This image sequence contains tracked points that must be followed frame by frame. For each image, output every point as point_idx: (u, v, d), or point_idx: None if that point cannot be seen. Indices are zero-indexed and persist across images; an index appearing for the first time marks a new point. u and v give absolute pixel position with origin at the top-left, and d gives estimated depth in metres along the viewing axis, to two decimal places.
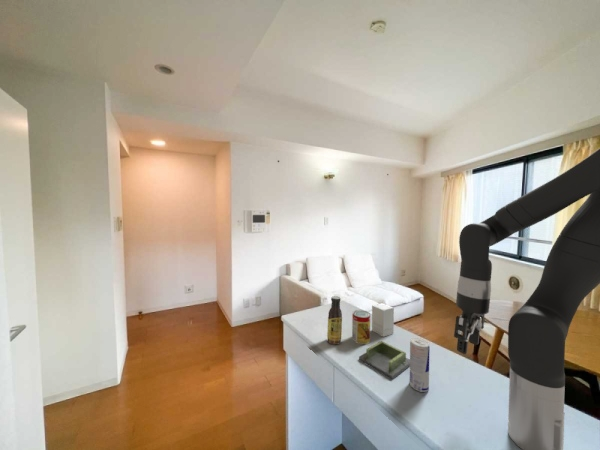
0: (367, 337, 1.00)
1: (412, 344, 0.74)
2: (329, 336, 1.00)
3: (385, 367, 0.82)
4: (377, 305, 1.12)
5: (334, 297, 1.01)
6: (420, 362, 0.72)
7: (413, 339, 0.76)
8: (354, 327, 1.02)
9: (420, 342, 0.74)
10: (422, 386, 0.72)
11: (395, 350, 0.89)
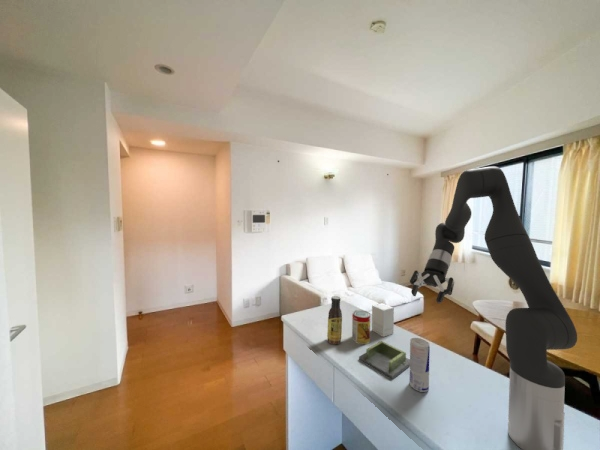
0: (367, 337, 1.00)
1: (412, 344, 0.74)
2: (329, 336, 1.00)
3: (385, 367, 0.82)
4: (377, 305, 1.12)
5: (334, 297, 1.01)
6: (420, 362, 0.72)
7: (413, 339, 0.76)
8: (354, 327, 1.02)
9: (420, 342, 0.74)
10: (422, 386, 0.72)
11: (395, 350, 0.89)
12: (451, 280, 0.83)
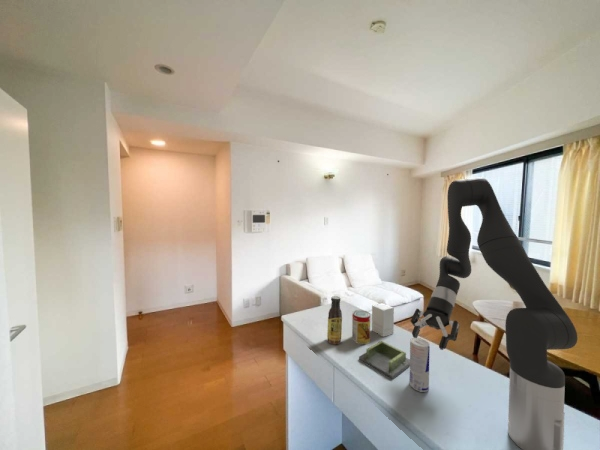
0: (367, 337, 1.00)
1: (412, 344, 0.74)
2: (329, 336, 1.00)
3: (385, 367, 0.82)
4: (377, 305, 1.12)
5: (334, 297, 1.01)
6: (420, 362, 0.72)
7: (413, 339, 0.76)
8: (354, 327, 1.02)
9: (420, 342, 0.74)
10: (422, 386, 0.72)
11: (395, 350, 0.89)
12: (455, 324, 0.75)
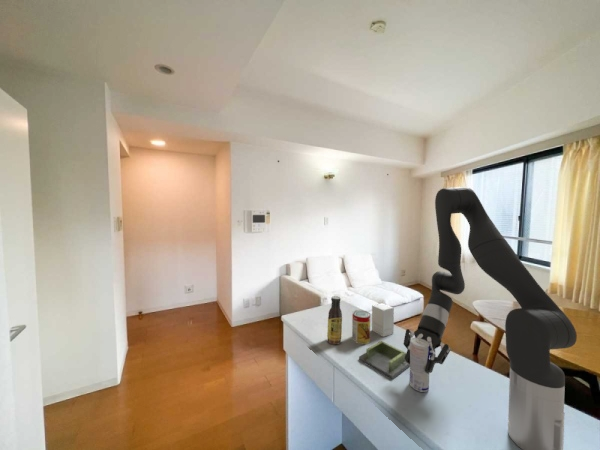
0: (367, 337, 1.00)
1: (412, 344, 0.74)
2: (329, 336, 1.00)
3: (385, 367, 0.82)
4: (377, 305, 1.12)
5: (334, 297, 1.01)
6: (420, 362, 0.72)
7: (413, 339, 0.76)
8: (354, 327, 1.02)
9: (420, 342, 0.74)
10: (422, 386, 0.72)
11: (395, 350, 0.89)
12: (446, 348, 0.71)
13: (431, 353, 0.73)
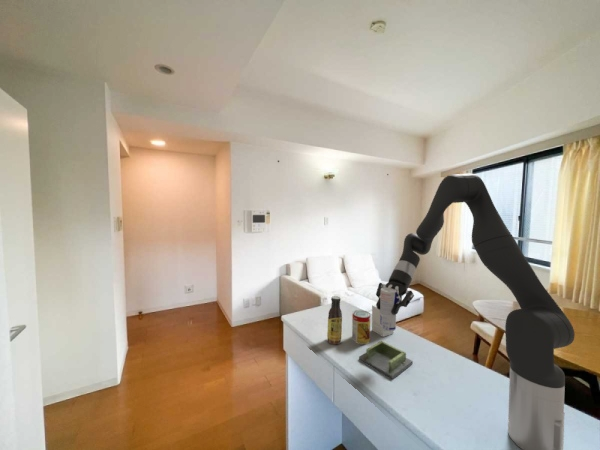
0: (367, 337, 1.00)
1: (381, 291, 0.86)
2: (329, 336, 1.00)
3: (385, 367, 0.82)
4: None
5: (334, 297, 1.01)
6: (387, 305, 0.84)
7: (383, 288, 0.88)
8: (354, 327, 1.02)
9: (389, 290, 0.86)
10: (389, 326, 0.84)
11: (395, 350, 0.89)
12: (409, 293, 0.83)
13: (397, 298, 0.85)
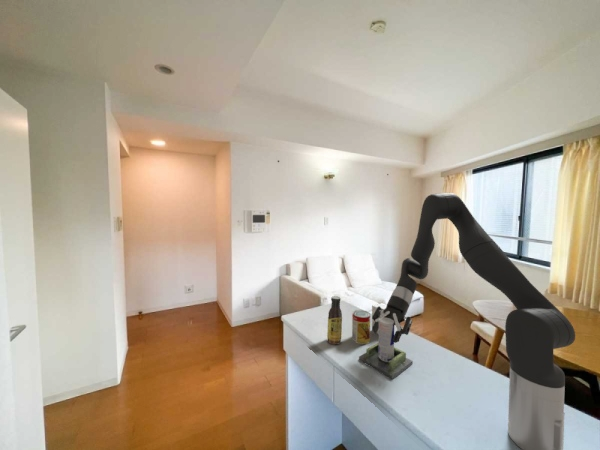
0: (367, 337, 1.00)
1: (380, 322, 0.87)
2: (329, 336, 1.00)
3: (385, 367, 0.82)
4: (377, 305, 1.12)
5: (334, 297, 1.02)
6: (385, 337, 0.85)
7: (381, 318, 0.89)
8: (354, 327, 1.02)
9: (387, 320, 0.87)
10: (387, 357, 0.85)
11: (395, 350, 0.89)
12: (408, 320, 0.84)
13: (398, 326, 0.85)
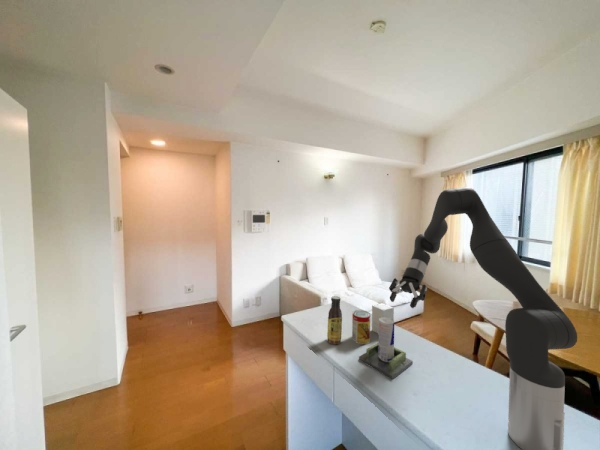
0: (367, 337, 1.00)
1: (380, 322, 0.87)
2: (329, 336, 1.00)
3: (385, 367, 0.82)
4: (377, 305, 1.12)
5: (334, 297, 1.01)
6: (385, 337, 0.85)
7: (381, 318, 0.89)
8: (354, 327, 1.02)
9: (387, 320, 0.87)
10: (387, 357, 0.85)
11: (395, 350, 0.89)
12: (424, 287, 0.91)
13: (414, 293, 0.92)
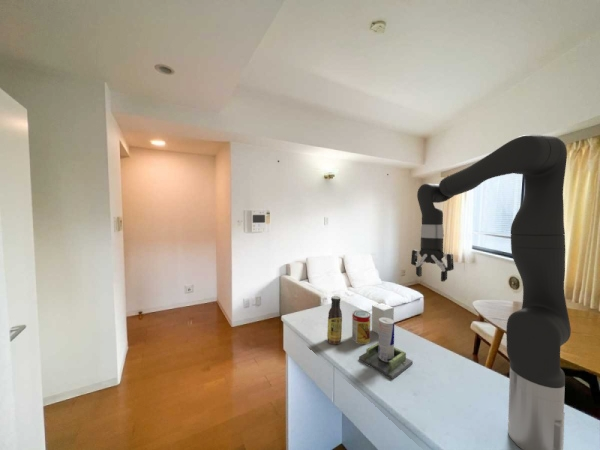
0: (367, 337, 1.00)
1: (380, 322, 0.87)
2: (329, 336, 1.00)
3: (385, 367, 0.82)
4: (377, 305, 1.12)
5: (334, 297, 1.01)
6: (385, 337, 0.85)
7: (381, 318, 0.89)
8: (354, 327, 1.02)
9: (387, 320, 0.87)
10: (388, 357, 0.85)
11: (395, 350, 0.89)
12: (449, 257, 0.81)
13: (441, 266, 0.83)
